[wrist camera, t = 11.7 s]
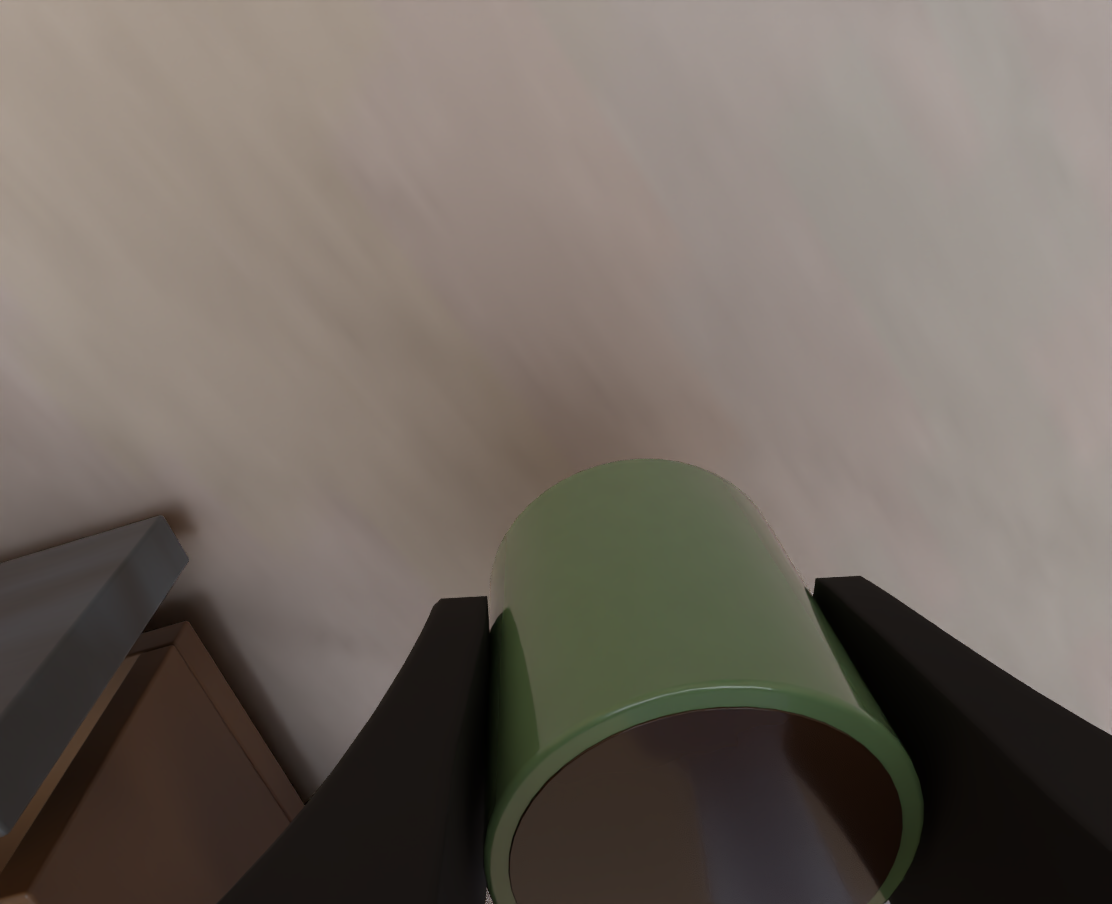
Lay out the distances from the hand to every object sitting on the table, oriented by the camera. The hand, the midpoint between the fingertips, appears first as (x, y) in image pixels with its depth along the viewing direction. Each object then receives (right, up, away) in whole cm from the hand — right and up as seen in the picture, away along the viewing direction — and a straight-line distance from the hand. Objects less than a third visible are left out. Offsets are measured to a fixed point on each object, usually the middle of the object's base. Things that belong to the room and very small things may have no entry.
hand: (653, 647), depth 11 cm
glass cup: (0, +1, +1) cm, 1 cm away
